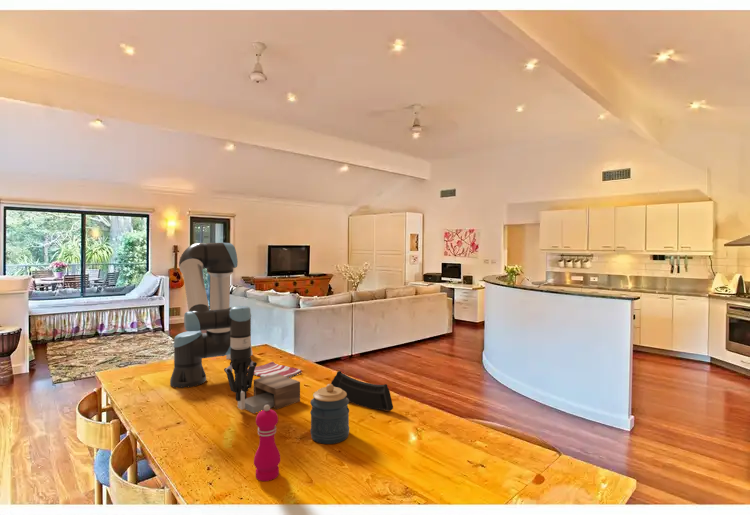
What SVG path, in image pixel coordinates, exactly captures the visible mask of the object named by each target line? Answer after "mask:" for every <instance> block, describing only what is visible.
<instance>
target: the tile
mask: <svg viewBox="0 0 750 515" xmlns="http://www.w3.org/2000/svg"><path fill="white" fill-rule="evenodd" d="M265 405H269V406H270V409H272V408H274V394H272V393H269V392H265V393H262V394H259V395H256V396H254V395H253V396H250V397H247V398H246V399H245V409H244V410H246V411H247V412H250V413H252V414H256V412H257V413H259V411H260V412H261V410H264V406H265Z"/></svg>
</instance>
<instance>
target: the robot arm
mask: <svg viewBox="0 0 750 515" xmlns="http://www.w3.org/2000/svg"><path fill="white" fill-rule="evenodd" d="M178 266H179V271H180V273H181V274H182V277H183V282H184V289H185V296H186V302H187V310H188V311H186V312H184V315H183V325H184V330H185V331H183V332H180V333H178V334H177V335H175V336H174V339H173V340H174V341H173V350H174V351H173V361H174V362H173V364H174V365H173V366H174V367H173V370H172V374H171V377H170V379H169V380H170V382H169V384H170V385H169V386H171V387H172V388H176V387H178V389H185V388H184V387H187V388H193V386H194V387H197V385H198V386H200V384H201V385H203V384H205V383H206V382H205V381H207V375H206V372H205V369H204V367H203V361H202V360H203V359H208V358H209V359H211V358H215V357H216V358H217V357H226V356H227V355H230V357H231V359H230V362H229V366H227V367H224V370H223V371H224V372H225V373H226V376H227V382H228V385H229V389H230V391H231V392H233V393H234V394H235V401H237V408H238V409H239V410H246V409H245V399H246V398H248V396H247V393H248V392H249V389H251V388H252V386H253V381H254V379H253V378H254V376H255V375H254V370H255V367H257V366H258V362H255V361H253V360H252V358H251V357H252V355H251V347H252V340H251V339H252V331H251V330H252V326H251V325H252V323H251V322H252V321H251V320H252V319H251V318H252V313H251V312H252V311H251V308H250V306H248V305H235V306H231V307H230V303H231V302H230V300H231V299H230V297H231V295H230V294H231V293H230V292H231V290H230V288H231V276H232V274H233V273H234V269H235V268H238V254H237V251H236V248H235V245H234V244H233V243H231V242H197V243H193V244H191V245H190V246H188V247H187V248H185V249H184V251H183V252H182V253H181V256H180V257H179V260H178ZM203 270H206V273H207V274H208V275H209V277H210V280H209V282H210V284H209V285H210V286H209V292H210V294H209V301H208V295H207V289H206V285H205V281H204V275H203ZM202 331H206V332H202ZM250 346H251V347H250ZM233 372H234V373H233ZM204 382H205V383H204ZM202 383H203V384H202Z"/></svg>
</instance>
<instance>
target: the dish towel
mask: <svg viewBox="0 0 750 515" xmlns="http://www.w3.org/2000/svg"><path fill="white" fill-rule="evenodd" d="M299 373H303V371H302V369H299V368H297V367H296V368H295V367H289V366H286V365H280V364H278V363H276V362H274V361H270V362H267V363H266V364H263V365H256V367H255V370H254V375H253V376H255V375H256V376H255V377H258V376H260V377H259V378H262V377H266V376H270V375H273V374H280V375H282V376H285V377H288V378H289V377H290V378H293V377H295V376H294V375H296V376H298V375H297V374H299ZM299 375H300V374H299ZM292 376H293V377H292Z"/></svg>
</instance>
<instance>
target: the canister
mask: <svg viewBox="0 0 750 515" xmlns="http://www.w3.org/2000/svg"><path fill="white" fill-rule="evenodd" d="M346 396H347V393H346V392H345V391H344V390H342V389H341V388H338V387H334V386H333V385H332V384H331V383H327V384H326V386H325V387H321V388H319V389H317V391H314V392H313V394H312V399H311V400H310V405H311V409H310V435H311V439H312V441H314V442H316V443H318V444H325V445H332V444H338V443H341V442H343V441H345V440H346V439H347V438H348V437H349V433H350V426H349V425H350V424H349V423H350V422H349V419H350V418H349V416H350V415H349V414H350V409H349V406H348V405H349V403H350V402H349V399H348V398H347V397H346Z"/></svg>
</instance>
